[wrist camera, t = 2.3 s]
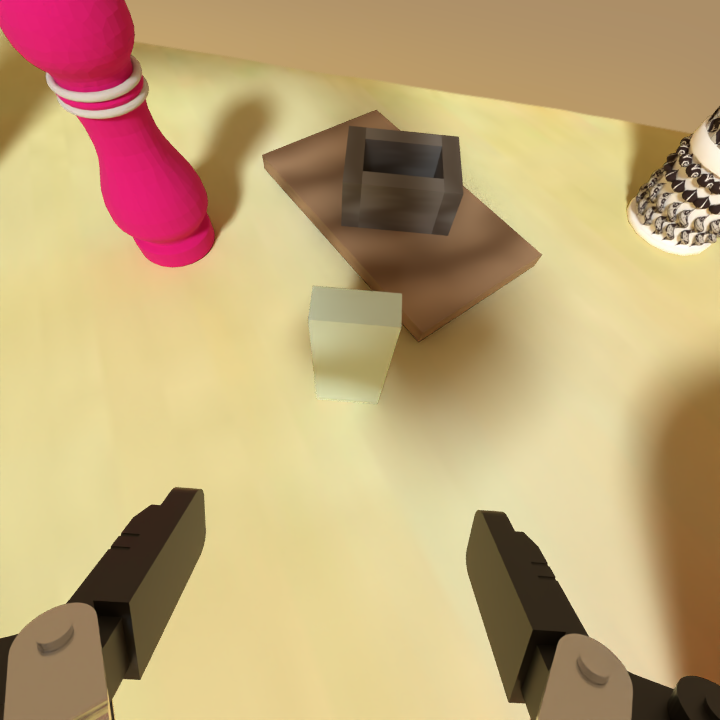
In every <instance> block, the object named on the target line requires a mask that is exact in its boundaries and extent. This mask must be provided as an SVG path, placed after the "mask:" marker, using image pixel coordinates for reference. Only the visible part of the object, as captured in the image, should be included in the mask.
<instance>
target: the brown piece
mask: <svg viewBox="0 0 720 720" xmlns="http://www.w3.org/2000/svg"><path fill="white" fill-rule="evenodd" d="M262 156H263V162H264V168H265V170H266V171H267V172H268V173H269V174H270V175H271V176H272V177H273V179H274V180H275V181H276V182H277V183H278V184H279V185H280V187H281V188H282V189H283V190H284V191H285V192H286V193H287V194H288V196H289V197H290V198H291V199H292V200H293V201H294V202H295V203H296V205H297V206H298V207H299V208H300V209H301V210H302V211H303V212H304V214H305V215H306V216H307V217H308V218H309V219H310V220H311V221H312V223H313V224H314V225H315V226H316V227H317V228H318V229H319V230H320V232H321V233H322V234H323V235H324V236H325V237H326V238H327V239H328V241H329V242H330V243H331V244H332V245H333V246H334V247H335V248H336V250H337V251H338V252H339V253H340V254H341V255H342V256H343V257H344V259H345V260H346V261H347V262H348V263H349V264H350V265H351V266H352V268H353V269H354V270H355V271H356V272H357V273H358V274H359V275H360V277H361V278H362V279H363V280H364V281H365V282H366V283H367V284H368V286H369V287H370V288H371V289H372V290H373V291H378V292H389V293H401V294H402V324H403V325H404V326H405V327H406V328H407V330H408V331H409V332H410V333H411V334H412V335H413V336H414V337H415V339H416V340H417V341H418V342H420V341H421V340H423V339H424V338H426V337H427V336H429V335H430V334H432V333H433V332H435V331H436V330H438V329H439V328H441V327H442V326H444V325H445V324H447V323H448V322H450V321H451V320H453V319H454V318H456V317H457V316H459V315H460V314H462V313H463V312H465V311H467V310H468V309H470V308H471V307H473V306H474V305H476V304H477V303H479V302H480V301H482V300H483V299H485V298H486V297H488V296H489V295H491V294H492V293H494V292H495V291H497V290H498V289H500V288H501V287H503V286H504V285H506V284H507V283H509V282H510V281H512V280H513V279H515V278H516V277H518V276H519V275H521V274H522V273H524V272H526V271H527V270H529V269H530V268H532V267H533V266H534V265H535V264H536V262H537V261H538V260H539V258H540V257H541V255H542V254H541V253H539V252H538V251H537V250H536V249H535V248H534V247H533V246H531V245H530V244H529V243H528V242H527V241H526V240H525V239H523V238H522V237H521V236H520V235H519V234H518V233H517V232H515V231H514V230H513V229H512V228H511V227H510V226H509V225H507V224H506V223H505V222H504V221H503V220H502V219H501V218H499V217H498V216H497V215H496V214H495V213H494V212H493V211H491V210H490V209H489V208H488V207H487V206H486V205H485V204H483V203H482V202H481V201H480V200H479V199H478V198H477V197H475V196H474V195H473V194H472V193H471V192H470V191H469V190H467V189H466V188H465V187H464V186H463V182H462V170H461V158H460V146H459V137H456V136H446V135H436V134H426V133H416V132H406V131H400V130H399V129H398V128H397V127H395V126H394V125H393V124H392V123H391V122H390V121H389V120H387V119H386V118H385V117H384V116H383V115H382V114H381V113H379V112H378V111H377V110H375V111H372V112H369V113H367V114H364V115H362V116H359V117H357V118H354V119H352V120H349V121H347V122H344V123H342V124H339V125H337V126H334V127H332V128H329V129H327V130H324V131H322V132H319V133H317V134H314V135H311V136H309V137H306V138H304V139H301V140H299V141H296V142H294V143H291V144H289V145H286V146H284V147H281V148H279V149H276V150H274V151H271V152H269V153H266V154H264V155H262Z"/></svg>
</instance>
